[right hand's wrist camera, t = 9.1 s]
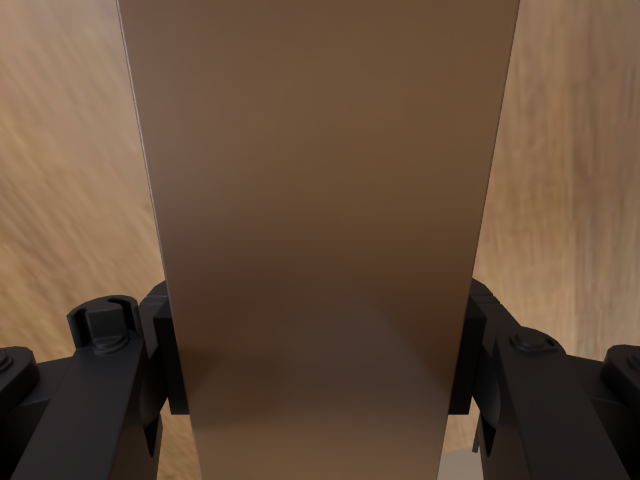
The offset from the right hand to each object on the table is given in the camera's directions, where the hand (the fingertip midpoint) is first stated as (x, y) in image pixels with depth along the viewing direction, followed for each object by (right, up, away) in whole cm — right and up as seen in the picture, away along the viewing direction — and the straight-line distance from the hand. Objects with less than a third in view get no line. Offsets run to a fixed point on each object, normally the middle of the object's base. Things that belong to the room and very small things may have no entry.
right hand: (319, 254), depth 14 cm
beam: (0, +23, -9) cm, 25 cm away
